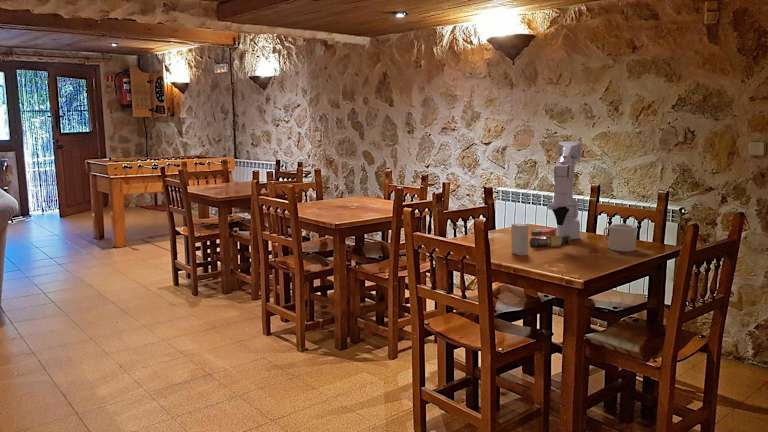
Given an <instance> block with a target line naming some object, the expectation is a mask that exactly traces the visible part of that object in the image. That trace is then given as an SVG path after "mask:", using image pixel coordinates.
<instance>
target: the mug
mask: <svg viewBox="0 0 768 432" xmlns="http://www.w3.org/2000/svg"><path fill="white" fill-rule="evenodd" d="M606 230H608V241H607V240H606ZM637 231H638V227H637V225H636V226H635V225H633V224H626V223H614V224H610V225H609V226H608V227H604V229H603V238H602V241H603V242H604V243H606V244H608V247H607V248H608V249H609V250H611V251H614V250H615V252H622V253H623V252H624V253H625V252H627V253H630V251H631V252H634V251H636V247H637V246H636V244H637Z"/></svg>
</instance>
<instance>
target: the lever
mask: <svg viewBox="0 0 768 432" xmlns="http://www.w3.org/2000/svg"><path fill="white" fill-rule="evenodd" d="M530 233H531V234H530V235H531V237H535V238H537V237H544V235H555V234H557V229H555V228H549V229H548V230H533V231H531V232H530Z"/></svg>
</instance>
